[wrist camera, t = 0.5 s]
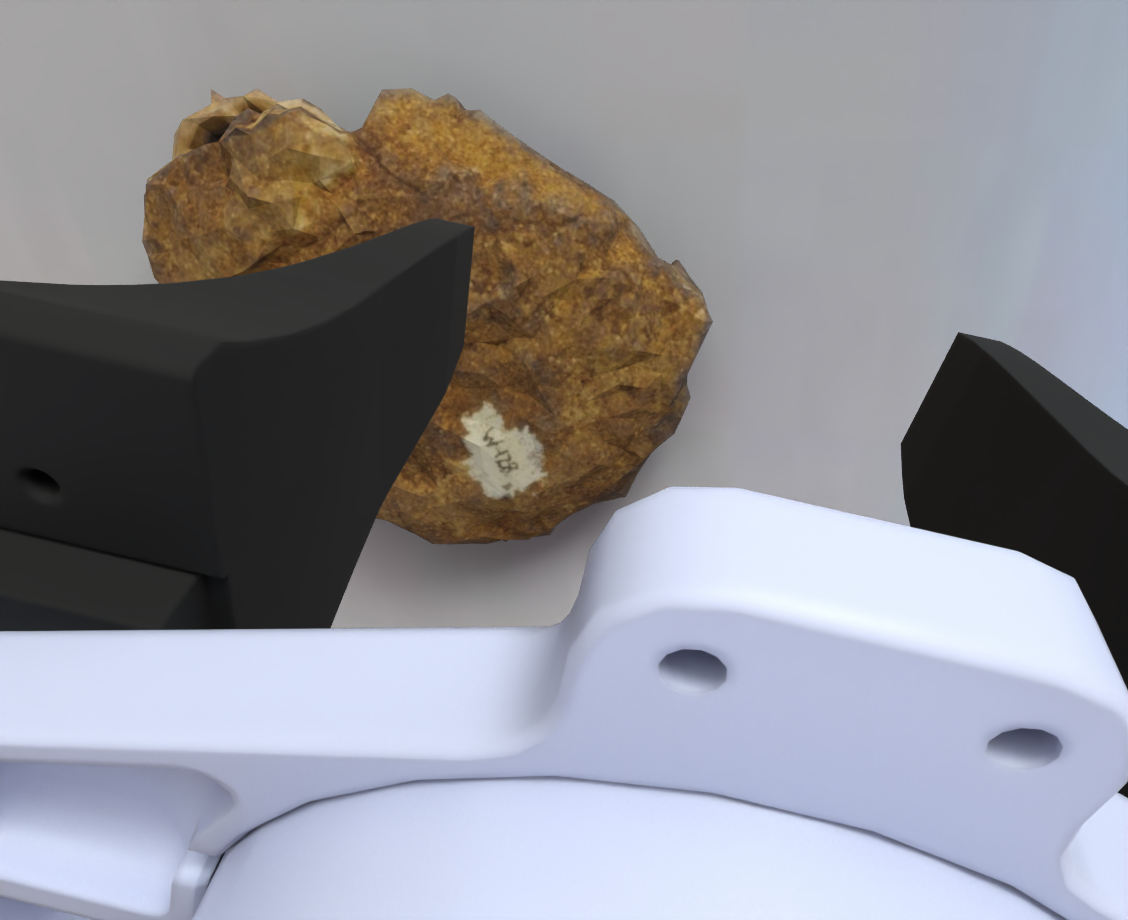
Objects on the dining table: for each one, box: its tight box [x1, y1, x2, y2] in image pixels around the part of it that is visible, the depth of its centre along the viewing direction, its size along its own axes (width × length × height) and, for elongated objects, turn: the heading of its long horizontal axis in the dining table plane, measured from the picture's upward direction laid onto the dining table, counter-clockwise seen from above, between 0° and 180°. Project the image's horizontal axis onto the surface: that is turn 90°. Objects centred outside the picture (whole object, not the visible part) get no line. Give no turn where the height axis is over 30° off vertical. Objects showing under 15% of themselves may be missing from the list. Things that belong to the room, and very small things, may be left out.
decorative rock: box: [142, 88, 713, 544], centre depth 22 cm, size 11×4×15 cm
